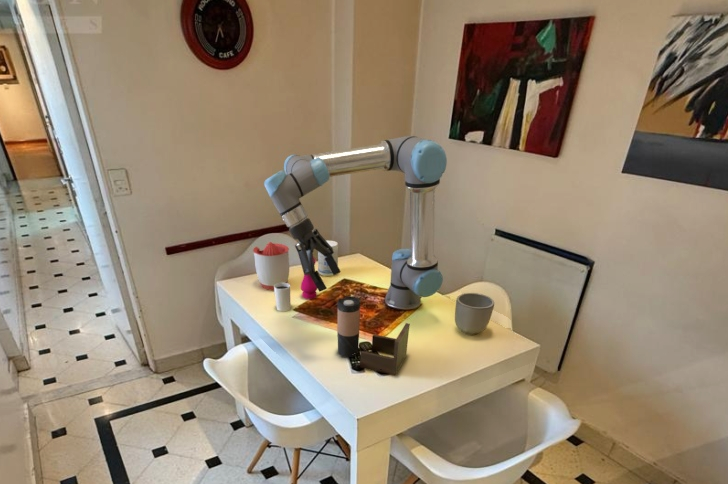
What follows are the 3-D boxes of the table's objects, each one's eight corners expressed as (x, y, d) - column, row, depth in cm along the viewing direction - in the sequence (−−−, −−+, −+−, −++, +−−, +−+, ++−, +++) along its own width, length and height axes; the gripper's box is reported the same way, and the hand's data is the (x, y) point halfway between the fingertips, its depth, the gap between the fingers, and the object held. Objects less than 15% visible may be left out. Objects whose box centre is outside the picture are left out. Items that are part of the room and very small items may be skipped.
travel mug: (356, 359, 161) (358, 306, 150) (335, 356, 163) (335, 304, 151) (360, 348, 167) (362, 297, 156) (339, 345, 169) (339, 295, 157)
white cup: (287, 312, 190) (286, 290, 184) (273, 310, 192) (271, 287, 186) (294, 306, 195) (292, 283, 189) (279, 303, 197) (278, 281, 191)
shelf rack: (372, 348, 167) (374, 317, 160) (406, 355, 164) (409, 323, 156) (360, 367, 157) (361, 334, 149) (395, 375, 153) (398, 342, 146)
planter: (464, 319, 187) (469, 289, 179) (494, 331, 179) (501, 300, 171) (444, 330, 179) (449, 299, 171) (475, 343, 171) (481, 312, 163)
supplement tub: (325, 278, 220) (324, 247, 211) (314, 272, 226) (313, 242, 217) (341, 274, 224) (342, 244, 216) (330, 268, 231) (330, 238, 222)
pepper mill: (320, 295, 204) (320, 250, 192) (311, 301, 199) (309, 255, 187) (307, 291, 207) (306, 247, 195) (298, 297, 202) (295, 252, 190)
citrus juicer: (275, 275, 222) (272, 233, 211) (297, 285, 212) (295, 242, 200) (248, 283, 214) (243, 240, 202) (269, 295, 204) (265, 250, 192)
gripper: (304, 215, 157) (334, 270, 166) (272, 241, 139) (307, 301, 148) (321, 206, 153) (351, 263, 162) (291, 231, 135) (326, 293, 144)
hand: (330, 281), depth 155 cm, fingers open, 13 cm apart
